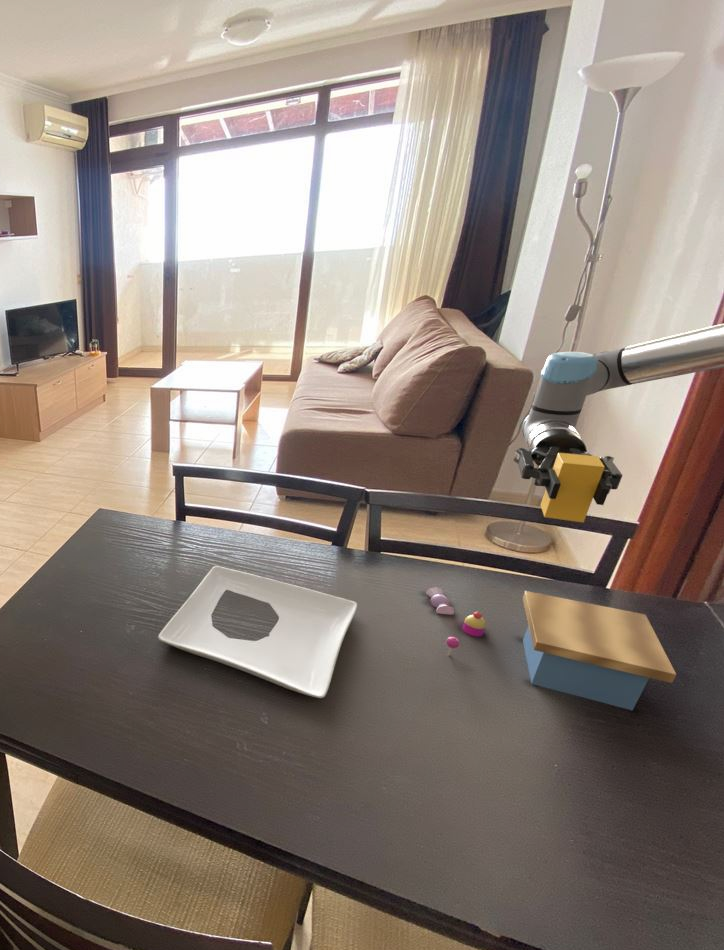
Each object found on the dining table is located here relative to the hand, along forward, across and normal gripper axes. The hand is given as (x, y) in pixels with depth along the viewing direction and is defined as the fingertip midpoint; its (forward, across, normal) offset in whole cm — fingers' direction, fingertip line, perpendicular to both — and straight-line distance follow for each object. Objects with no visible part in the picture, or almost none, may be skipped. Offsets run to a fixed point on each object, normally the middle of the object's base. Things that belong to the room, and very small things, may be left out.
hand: (578, 494), depth 86 cm
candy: (+11, +12, -24) cm, 29 cm away
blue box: (+16, -3, -24) cm, 29 cm away
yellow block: (-5, 0, -6) cm, 8 cm away
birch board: (+16, -3, -16) cm, 23 cm away
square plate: (+27, +41, -24) cm, 55 cm away
